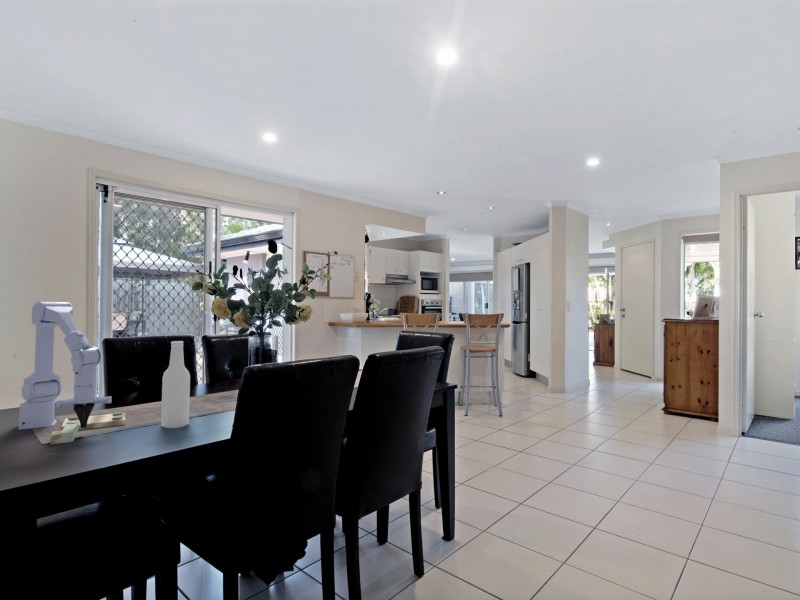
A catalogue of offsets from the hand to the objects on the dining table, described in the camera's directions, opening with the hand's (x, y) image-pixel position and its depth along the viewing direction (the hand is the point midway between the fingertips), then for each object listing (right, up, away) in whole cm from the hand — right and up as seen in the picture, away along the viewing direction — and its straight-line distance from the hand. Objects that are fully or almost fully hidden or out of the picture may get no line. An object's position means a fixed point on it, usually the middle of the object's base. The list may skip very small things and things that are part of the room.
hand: (83, 427), depth 141 cm
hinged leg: (-3, -2, -2) cm, 4 cm away
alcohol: (+23, -4, +13) cm, 27 cm away
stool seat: (-2, -3, +6) cm, 7 cm away
